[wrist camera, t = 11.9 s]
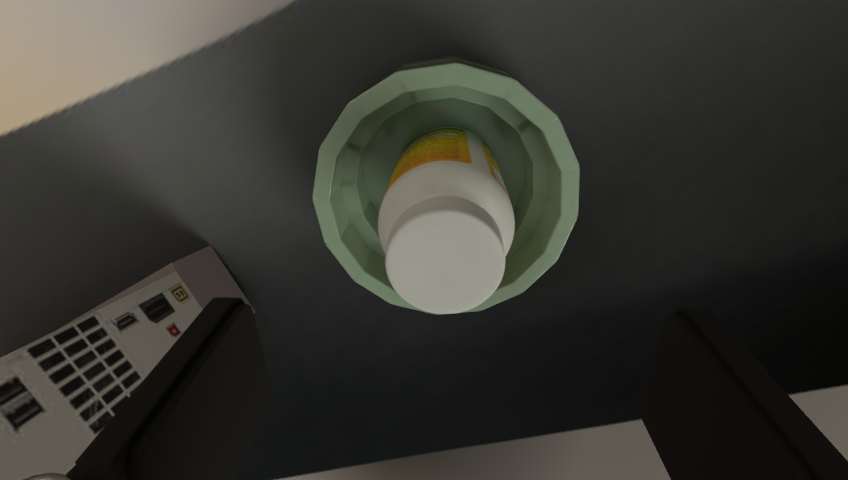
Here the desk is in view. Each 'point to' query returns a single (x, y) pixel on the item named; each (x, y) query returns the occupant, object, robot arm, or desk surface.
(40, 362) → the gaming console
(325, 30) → the desk surface
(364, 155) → the green bowl
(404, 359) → the desk surface
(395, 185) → the supplement bottle
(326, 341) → the desk surface
